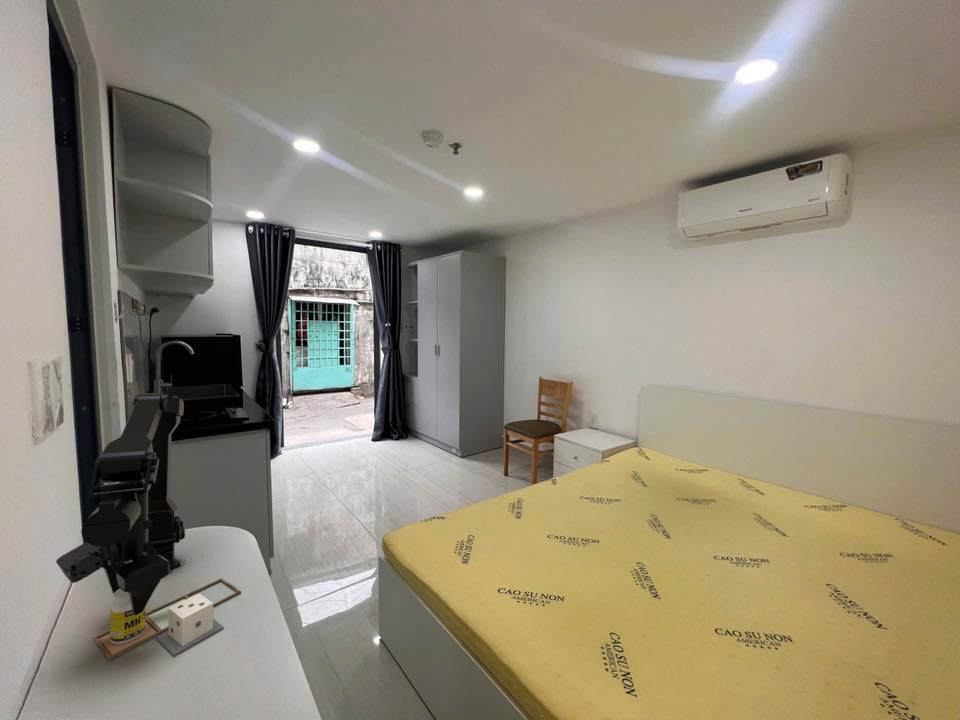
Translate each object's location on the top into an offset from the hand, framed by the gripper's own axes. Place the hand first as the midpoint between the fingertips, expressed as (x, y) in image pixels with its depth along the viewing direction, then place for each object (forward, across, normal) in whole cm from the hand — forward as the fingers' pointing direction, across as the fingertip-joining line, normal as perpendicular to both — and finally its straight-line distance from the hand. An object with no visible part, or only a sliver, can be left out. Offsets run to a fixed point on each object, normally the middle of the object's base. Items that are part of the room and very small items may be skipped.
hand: (127, 603), depth 72 cm
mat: (+6, +8, +7) cm, 12 cm away
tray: (+6, 0, +7) cm, 10 cm away
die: (+6, +8, +7) cm, 12 cm away
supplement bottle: (+6, 0, 0) cm, 6 cm away
